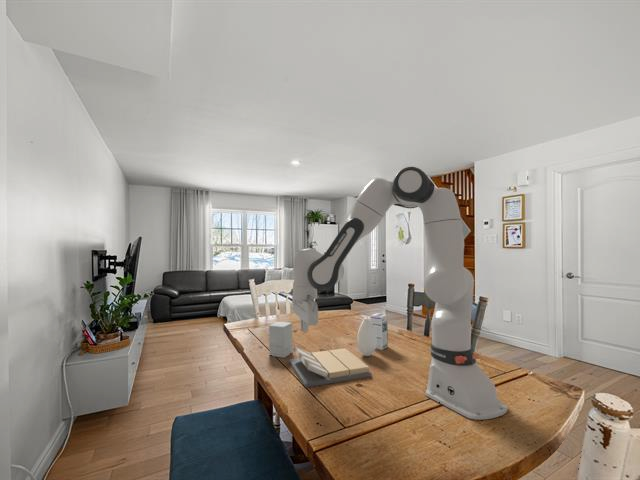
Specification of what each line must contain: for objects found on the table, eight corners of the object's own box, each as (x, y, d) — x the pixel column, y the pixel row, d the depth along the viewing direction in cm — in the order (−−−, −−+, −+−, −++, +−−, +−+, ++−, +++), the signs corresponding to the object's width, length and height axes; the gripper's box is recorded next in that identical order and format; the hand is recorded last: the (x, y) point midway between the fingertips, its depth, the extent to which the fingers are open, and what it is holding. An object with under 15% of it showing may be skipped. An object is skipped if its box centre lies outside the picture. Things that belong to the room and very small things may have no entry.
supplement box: (293, 352, 128) (292, 322, 128) (283, 358, 121) (283, 327, 121) (278, 350, 131) (278, 320, 131) (268, 355, 124) (268, 325, 124)
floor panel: (371, 376, 104) (371, 367, 104) (305, 387, 96) (305, 378, 96) (345, 354, 125) (345, 347, 125) (288, 362, 117) (288, 354, 117)
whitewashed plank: (326, 377, 100) (328, 373, 100) (308, 369, 97) (310, 365, 98) (308, 356, 118) (310, 352, 119) (292, 349, 116) (294, 346, 117)
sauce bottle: (354, 357, 122) (354, 312, 122) (361, 350, 129) (360, 309, 129) (373, 360, 118) (372, 314, 119) (378, 354, 125) (378, 310, 126)
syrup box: (382, 350, 130) (382, 316, 130) (370, 347, 133) (370, 314, 134) (388, 346, 134) (387, 314, 134) (376, 344, 138) (375, 312, 138)
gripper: (323, 297, 99) (322, 339, 99) (305, 288, 119) (304, 323, 119) (304, 298, 97) (304, 341, 97) (289, 289, 117) (289, 324, 116)
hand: (304, 331), depth 108 cm, fingers closed
